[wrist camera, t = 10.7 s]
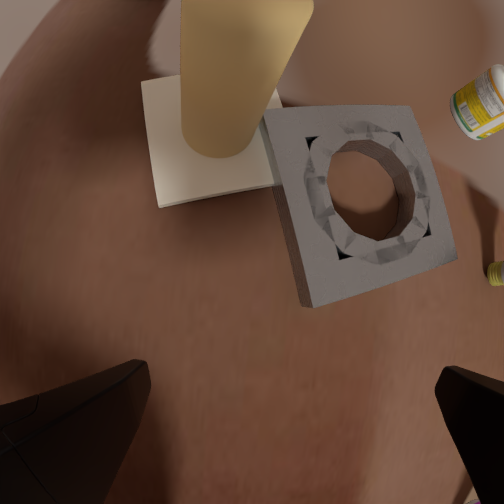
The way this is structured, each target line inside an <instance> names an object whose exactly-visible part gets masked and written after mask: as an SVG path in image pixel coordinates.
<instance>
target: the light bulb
mask: <svg viewBox="0 0 504 504" xmlns="http://www.w3.org/2000/svg"><path fill="white" fill-rule="evenodd" d="M487 277H488V281H489V283H490V284H491V285H493V286H496V285H504V261H500V262H494V263H491V264H490V265H489V266H488V270H487Z"/></svg>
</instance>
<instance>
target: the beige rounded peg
mask: <svg viewBox="0 0 504 504" xmlns="http://www.w3.org/2000/svg"><path fill="white" fill-rule="evenodd" d="M181 2H182V3H181V42H180V44H181V46H180V47H181V48H180V87H181V129H182V134H183V137H184V139H185V141H186V142H187V144H188V145H189V146H190V147H191V148H192V149H193V150H194V151H196V152H197V153H199V154H201V155H203V156H207V157H211V158H227V157H231V156H234V155H236V154H238V153H240V152H241V151H243V150H244V149H245V148H246V147H247V146H248V145H249V143H250V142H251V140H252V138H253V136H254V134H255V131H256V129H257V127H258V125H259V123H260V120H261V118H262V116H263V114H264V112H265V110H266V107H267V105H268V103H269V101H270V99H271V97H272V95H273V92H274V90H275V88H276V86H277V84H278V81H279V80H280V78H281V76H282V73H283V71H284V69H285V67H286V65H287V63H288V61H289V59H290V57H291V55H292V53H293V51H294V49H295V47H296V45H297V43H298V41H299V39H300V37H301V35H302V33H303V31H304V29H305V27H306V25H307V23H308V21H309V19H310V17H311V15H312V13H313V9H314V4H313V0H182V1H181Z"/></svg>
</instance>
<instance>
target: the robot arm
mask: <svg viewBox="0 0 504 504" xmlns="http://www.w3.org/2000/svg"><path fill="white" fill-rule="evenodd" d="M150 389H151V380H150V374H149V369H148V364H147V362H146V361H143V360H137V359H133V360H130V361H128V362H125V363H122V364H120V365H117V366H115V367H112V368H110V369H107V370H104V371H102V372H99V373H96V374H94V375H91V376H88V377H86V378H83V379H80V380H77V381H75V382H72V383H69V384H66V385H63V386H61V387H58V388H55V389H52V390H49V391H46V392H43V393H41V394H39V395H38V394H36V395H33V396H30V397H27V398H24V399H21V400H18V401H14V402H11V403H7V404H3V405H0V504H103V503H104V501H105V498H106V496H107V494H108V492H109V490H110V487H111V485H112V483H113V481H114V479H115V477H116V474H117V472H118V470H119V468H120V466H121V464H122V461H123V459H124V457H125V455H126V453H127V451H128V449H129V446H130V444H131V442H132V440H133V438H134V436H135V434H136V432H137V429H138V427H139V424H140V421H141V418H142V415H143V412H144V409H145V406H146V402H147V399H148V396H149V393H150ZM435 396H436V398H437V401H438V404H439V406H440V409H441V412H442V415H443V418H444V420H445V423H446V426H447V428H448V430H449V433H450V435H451V437H452V439H453V441H454V443H455V445H456V447H457V450H458V452H459V454H460V456H461V458H462V461H463V463H464V465H465V467H466V470H467V472H468V474H469V476H470V479H471V481H472V484H473V486H474V488H475V491H476V493H477V496H478V498H479V501H480V503H481V504H504V382H502V381H499V380H496V379H493V378H490V377H487V376H484V375H481V374H478V373H475V372H472V371H470V370H467V369H464V368H461V367H458V366H446V367H444V368H443V370H442V372H441V374H440V377H439V379H438V381H437V383H436V386H435Z"/></svg>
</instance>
